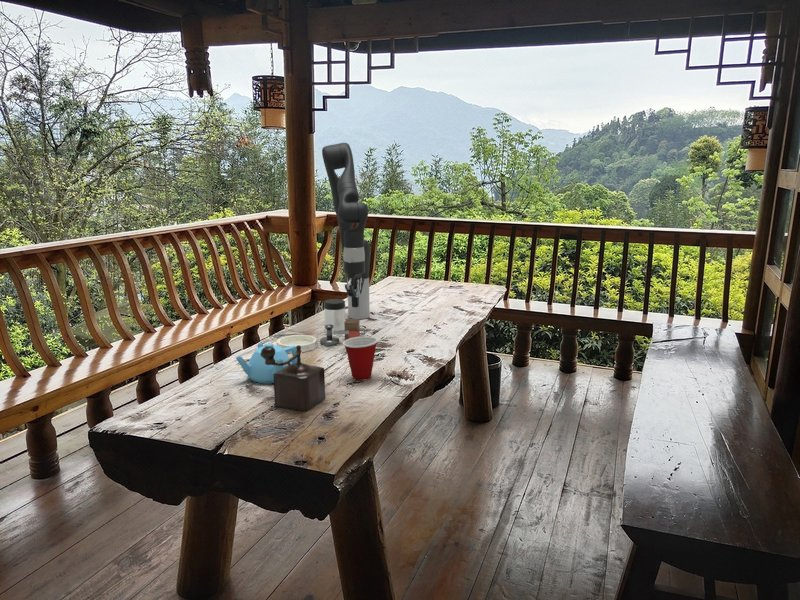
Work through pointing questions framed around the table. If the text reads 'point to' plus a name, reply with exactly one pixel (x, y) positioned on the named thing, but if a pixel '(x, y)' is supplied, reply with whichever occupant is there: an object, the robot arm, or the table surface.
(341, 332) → the crank
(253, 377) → the teapot
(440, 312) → the table surface
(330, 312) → the jar
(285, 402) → the coffee grinder
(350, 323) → the block
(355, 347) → the plastic cup
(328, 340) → the base
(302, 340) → the dish
